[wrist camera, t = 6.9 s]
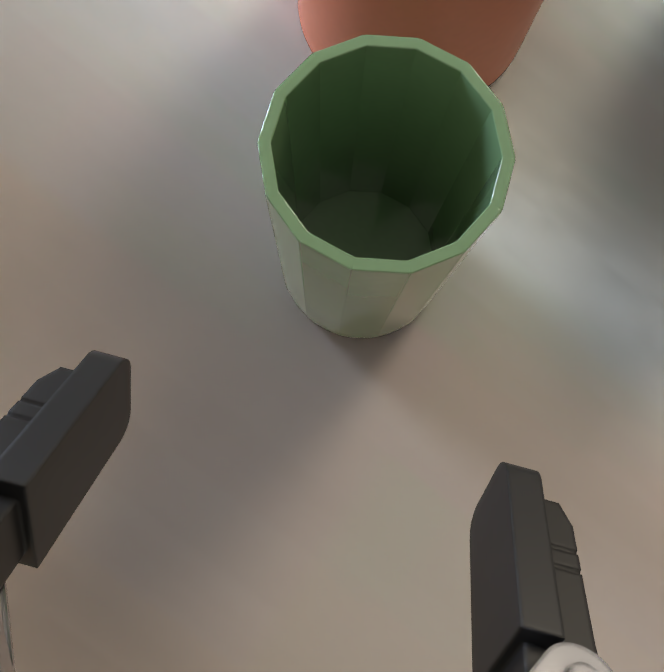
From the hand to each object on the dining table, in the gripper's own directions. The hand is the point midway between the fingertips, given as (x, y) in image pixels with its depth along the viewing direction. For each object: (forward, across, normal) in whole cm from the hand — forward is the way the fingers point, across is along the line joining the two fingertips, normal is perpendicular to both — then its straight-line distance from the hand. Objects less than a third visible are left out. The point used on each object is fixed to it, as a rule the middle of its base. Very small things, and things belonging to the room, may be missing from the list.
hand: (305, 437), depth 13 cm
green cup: (+13, 0, +3) cm, 14 cm away
